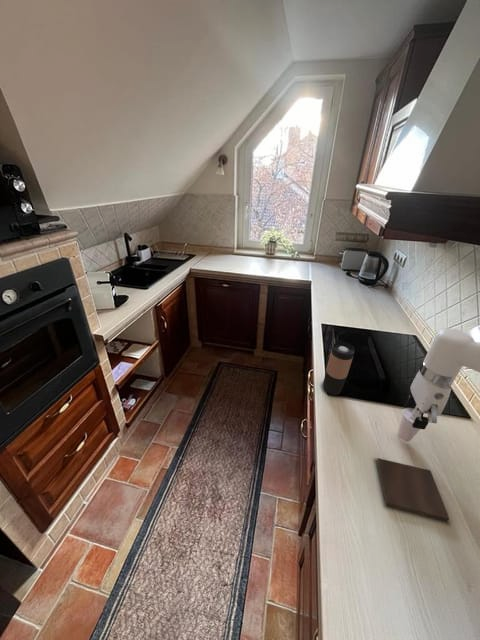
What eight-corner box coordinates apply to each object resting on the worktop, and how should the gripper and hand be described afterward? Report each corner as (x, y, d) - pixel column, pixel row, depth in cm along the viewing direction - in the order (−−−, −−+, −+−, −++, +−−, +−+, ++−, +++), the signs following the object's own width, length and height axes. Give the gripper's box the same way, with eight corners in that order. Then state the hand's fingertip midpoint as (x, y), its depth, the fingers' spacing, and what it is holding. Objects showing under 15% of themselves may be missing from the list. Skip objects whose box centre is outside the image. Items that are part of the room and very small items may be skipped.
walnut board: (428, 473, 73) (430, 470, 72) (446, 521, 63) (449, 518, 62) (375, 460, 75) (377, 457, 75) (385, 505, 65) (387, 502, 65)
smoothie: (394, 424, 85) (408, 394, 78) (416, 434, 81) (433, 404, 74) (391, 438, 80) (406, 408, 73) (414, 449, 77) (432, 419, 70)
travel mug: (317, 384, 102) (328, 344, 91) (332, 379, 104) (344, 339, 94) (330, 398, 96) (343, 356, 85) (346, 392, 98) (360, 351, 88)
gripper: (470, 399, 59) (440, 446, 68) (439, 355, 74) (417, 398, 83) (434, 394, 61) (409, 440, 70) (411, 351, 75) (392, 394, 84)
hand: (414, 417), depth 76 cm, fingers closed on smoothie, 6 cm apart
